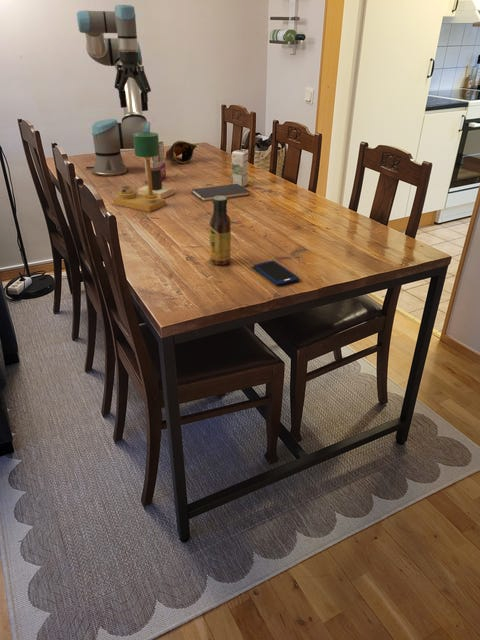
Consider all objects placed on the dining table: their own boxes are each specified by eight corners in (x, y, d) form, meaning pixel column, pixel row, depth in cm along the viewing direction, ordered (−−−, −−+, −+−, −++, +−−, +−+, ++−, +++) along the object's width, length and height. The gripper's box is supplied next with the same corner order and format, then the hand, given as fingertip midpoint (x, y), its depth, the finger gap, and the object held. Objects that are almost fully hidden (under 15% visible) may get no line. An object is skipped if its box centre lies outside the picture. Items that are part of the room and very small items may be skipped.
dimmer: (137, 195, 201) (136, 188, 200) (152, 189, 208) (151, 183, 207) (160, 199, 196) (159, 193, 195) (174, 193, 203) (174, 187, 202)
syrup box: (248, 184, 217) (248, 150, 209) (242, 187, 212) (243, 153, 205) (236, 182, 219) (237, 149, 211) (231, 185, 214) (231, 152, 207)
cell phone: (278, 286, 131) (278, 283, 131) (252, 267, 142) (252, 264, 141) (300, 280, 134) (300, 278, 134) (273, 262, 145) (273, 259, 144)
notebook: (237, 187, 213) (192, 192, 205) (237, 183, 212) (192, 189, 204) (250, 195, 203) (203, 201, 195) (250, 191, 202) (203, 197, 194)
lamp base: (113, 203, 191) (111, 194, 189) (129, 197, 198) (128, 187, 196) (149, 211, 183) (148, 201, 181) (165, 204, 190) (165, 194, 188)
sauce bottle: (209, 257, 147) (208, 193, 137) (229, 257, 148) (230, 193, 137) (210, 266, 142) (208, 200, 131) (231, 266, 142) (231, 200, 132)
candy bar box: (156, 176, 227) (154, 139, 218) (166, 177, 225) (163, 140, 217) (145, 182, 218) (141, 144, 209) (155, 183, 216) (152, 145, 208)
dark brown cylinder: (156, 191, 198) (154, 170, 193) (145, 189, 200) (144, 168, 196) (164, 187, 202) (163, 167, 197) (154, 185, 204) (152, 165, 200)
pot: (179, 138, 259) (194, 132, 244) (189, 157, 264) (204, 153, 249) (154, 152, 253) (167, 147, 238) (164, 172, 258) (178, 168, 243)
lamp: (134, 198, 184) (127, 135, 172) (149, 192, 191) (143, 131, 179) (152, 201, 181) (147, 137, 169) (167, 195, 187) (163, 133, 175)
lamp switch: (120, 193, 190) (119, 188, 189) (126, 191, 193) (126, 185, 192) (127, 195, 189) (127, 189, 188) (134, 192, 192) (133, 187, 191)
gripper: (157, 52, 186) (161, 111, 197) (116, 49, 200) (122, 105, 211) (142, 52, 181) (147, 113, 192) (101, 50, 195) (108, 106, 206)
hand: (134, 109), depth 201 cm, fingers open, 13 cm apart
